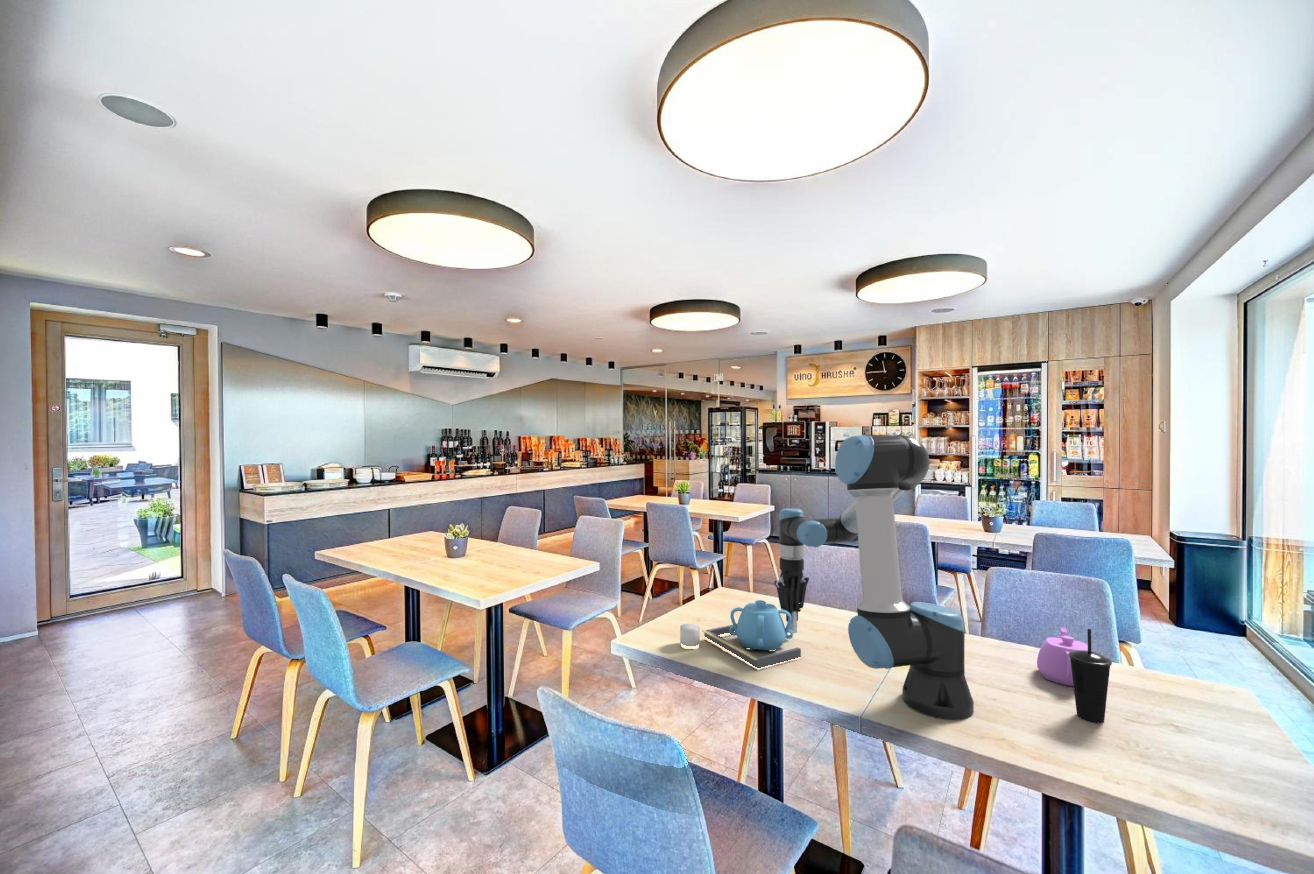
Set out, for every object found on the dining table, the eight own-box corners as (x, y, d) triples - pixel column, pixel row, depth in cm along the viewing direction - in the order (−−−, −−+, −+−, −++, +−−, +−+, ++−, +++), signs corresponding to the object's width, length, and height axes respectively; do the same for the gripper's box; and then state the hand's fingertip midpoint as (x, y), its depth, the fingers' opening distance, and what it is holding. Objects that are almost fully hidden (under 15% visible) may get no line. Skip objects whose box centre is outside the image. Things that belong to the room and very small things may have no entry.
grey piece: (800, 659, 156) (800, 647, 156) (755, 671, 148) (755, 659, 148) (744, 631, 179) (744, 621, 179) (702, 640, 171) (702, 630, 171)
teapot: (1093, 669, 148) (1092, 629, 148) (1107, 699, 130) (1107, 653, 131) (1033, 659, 154) (1033, 621, 155) (1040, 687, 137) (1039, 643, 137)
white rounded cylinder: (703, 647, 165) (703, 628, 165) (686, 651, 162) (686, 631, 162) (691, 640, 171) (691, 621, 171) (675, 644, 168) (675, 625, 168)
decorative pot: (799, 649, 163) (799, 604, 163) (756, 659, 156) (756, 612, 156) (765, 632, 178) (765, 591, 178) (724, 641, 171) (724, 597, 171)
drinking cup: (1115, 730, 117) (1114, 637, 117) (1071, 720, 121) (1070, 631, 121) (1109, 715, 123) (1108, 627, 123) (1067, 706, 127) (1066, 621, 127)
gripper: (798, 553, 178) (798, 624, 178) (767, 557, 172) (768, 631, 172) (815, 557, 172) (815, 631, 172) (784, 561, 165) (784, 639, 165)
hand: (792, 631), depth 172 cm, fingers closed
